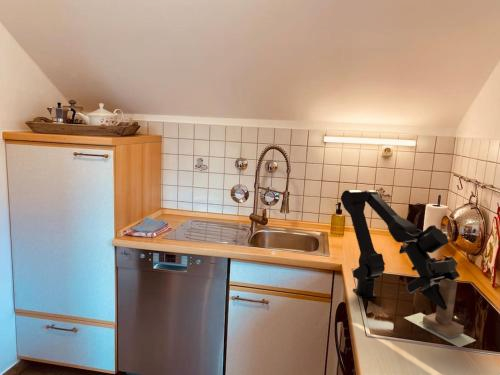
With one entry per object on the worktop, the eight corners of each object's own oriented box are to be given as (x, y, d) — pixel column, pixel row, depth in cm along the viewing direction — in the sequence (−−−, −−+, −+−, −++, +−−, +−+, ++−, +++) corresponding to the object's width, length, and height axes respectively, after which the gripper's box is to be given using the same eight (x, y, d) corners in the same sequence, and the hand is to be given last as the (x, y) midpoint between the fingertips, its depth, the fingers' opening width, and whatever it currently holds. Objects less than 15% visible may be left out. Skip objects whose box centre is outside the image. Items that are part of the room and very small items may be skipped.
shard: (368, 304, 133) (368, 299, 133) (391, 309, 130) (392, 304, 130) (365, 317, 123) (366, 312, 122) (391, 323, 120) (391, 318, 120)
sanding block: (422, 324, 117) (428, 277, 114) (434, 320, 120) (440, 274, 118) (450, 338, 109) (457, 288, 107) (462, 334, 112) (469, 285, 110)
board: (403, 321, 121) (403, 317, 121) (420, 316, 125) (420, 312, 125) (458, 351, 106) (459, 347, 106) (475, 344, 110) (476, 340, 110)
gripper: (420, 251, 109) (452, 303, 102) (458, 244, 119) (489, 292, 111) (394, 268, 117) (421, 318, 110) (431, 260, 127) (459, 306, 119)
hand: (449, 308), depth 112 cm, fingers closed on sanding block, 3 cm apart
